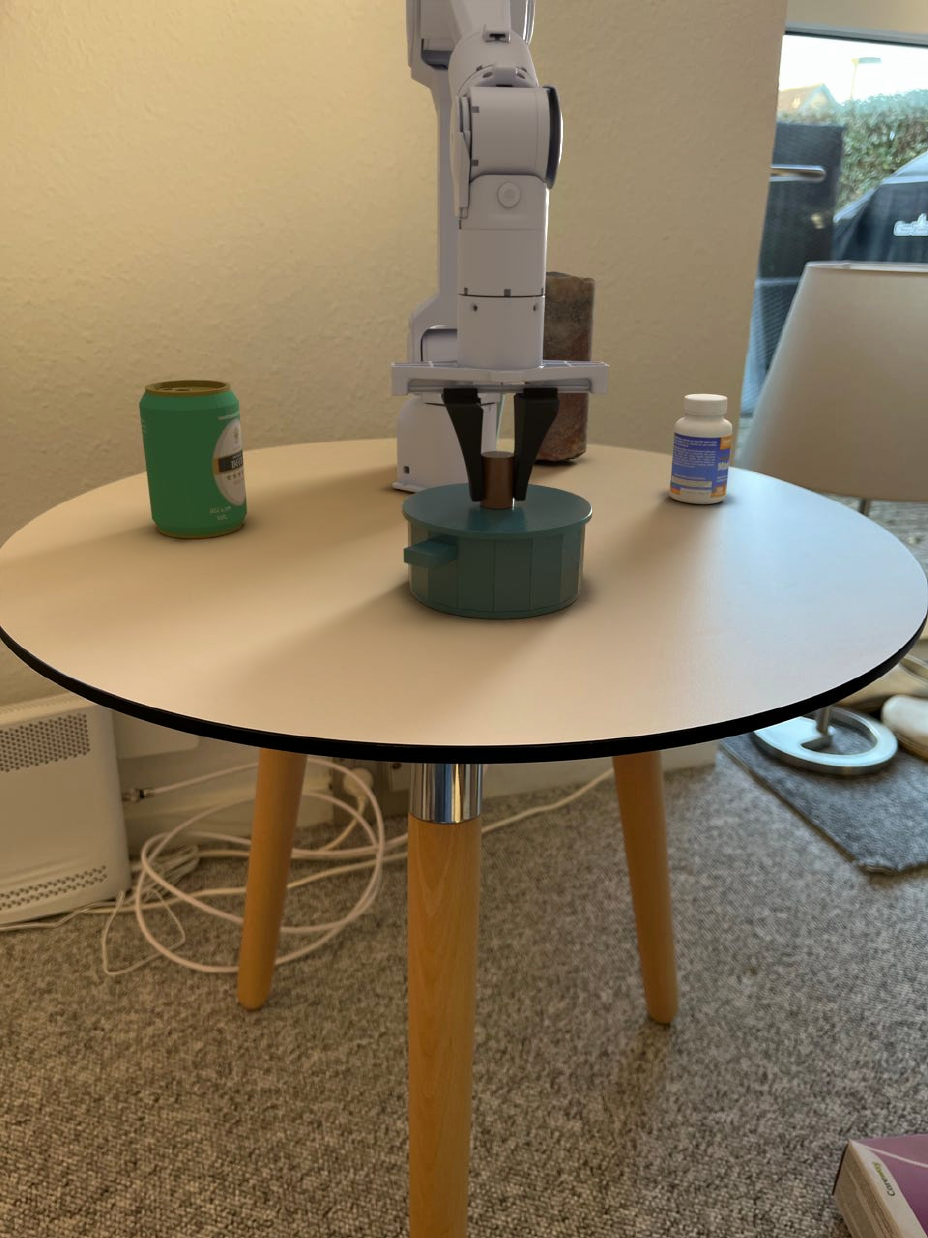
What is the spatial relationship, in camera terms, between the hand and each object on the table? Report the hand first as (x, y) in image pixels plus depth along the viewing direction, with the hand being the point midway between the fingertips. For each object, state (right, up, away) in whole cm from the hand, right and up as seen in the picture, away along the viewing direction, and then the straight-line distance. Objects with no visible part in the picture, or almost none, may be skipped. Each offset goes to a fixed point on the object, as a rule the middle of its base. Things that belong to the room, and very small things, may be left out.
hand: (496, 497), depth 69 cm
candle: (+8, +9, +42) cm, 44 cm away
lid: (0, -1, 0) cm, 1 cm away
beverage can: (-25, -1, +16) cm, 30 cm away
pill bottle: (+20, +3, +27) cm, 34 cm away
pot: (0, -6, +3) cm, 7 cm away
